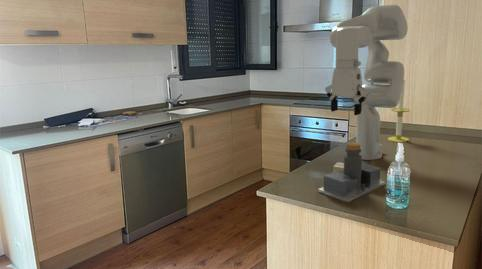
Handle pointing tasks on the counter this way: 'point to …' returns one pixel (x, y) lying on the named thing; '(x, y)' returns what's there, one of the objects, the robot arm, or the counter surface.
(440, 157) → the counter surface
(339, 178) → the board
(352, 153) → the bottle
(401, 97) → the candle
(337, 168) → the loose block
